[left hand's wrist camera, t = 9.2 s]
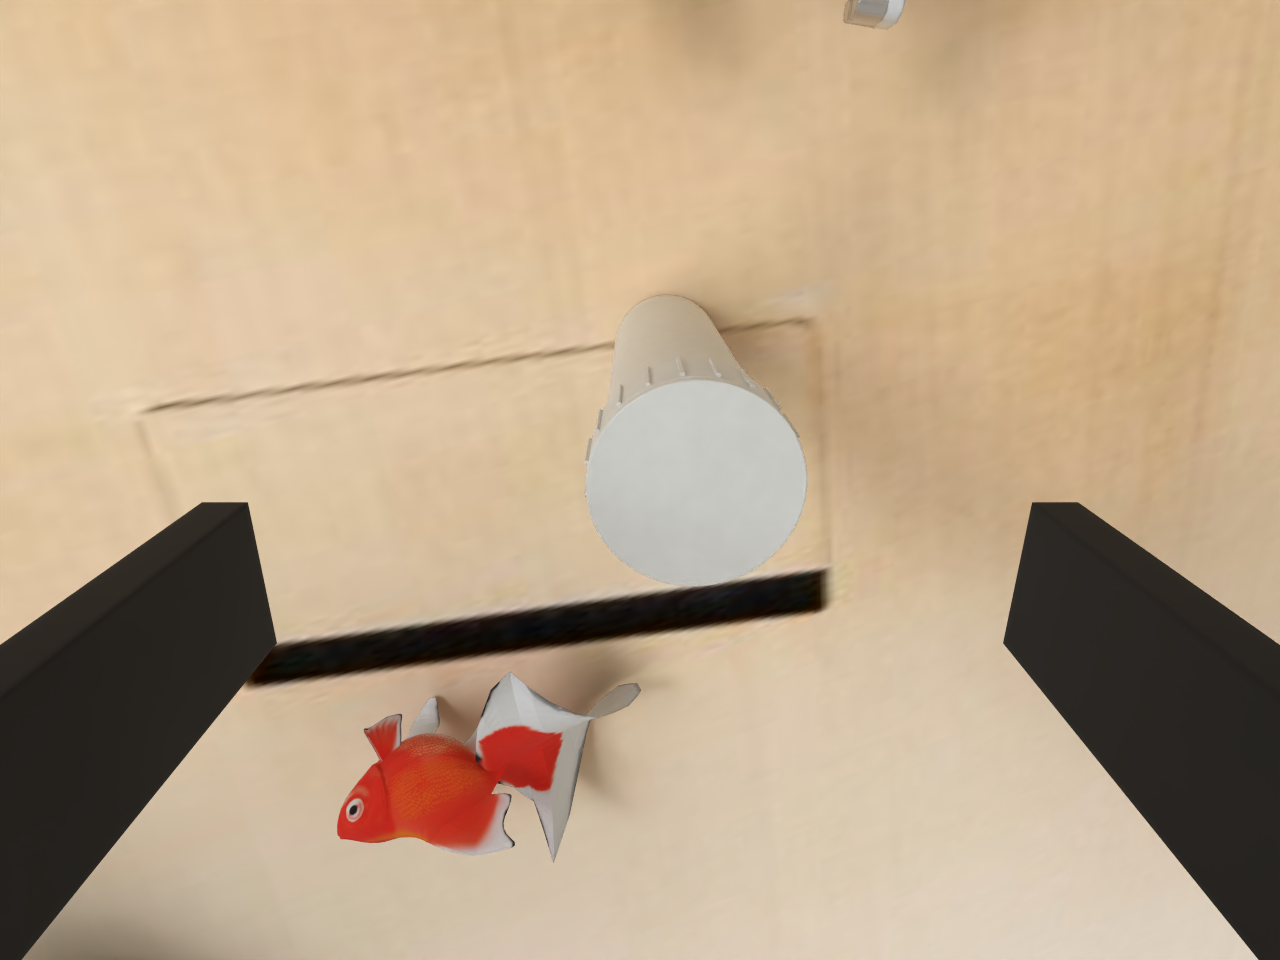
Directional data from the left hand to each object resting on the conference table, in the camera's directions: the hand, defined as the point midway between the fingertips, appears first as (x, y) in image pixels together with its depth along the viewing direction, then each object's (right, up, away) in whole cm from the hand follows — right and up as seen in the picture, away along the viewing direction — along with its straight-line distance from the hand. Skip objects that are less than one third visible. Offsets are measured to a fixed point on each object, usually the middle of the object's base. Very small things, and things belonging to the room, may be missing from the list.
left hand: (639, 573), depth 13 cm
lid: (+1, +2, +5) cm, 5 cm away
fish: (-7, -11, +28) cm, 31 cm away
